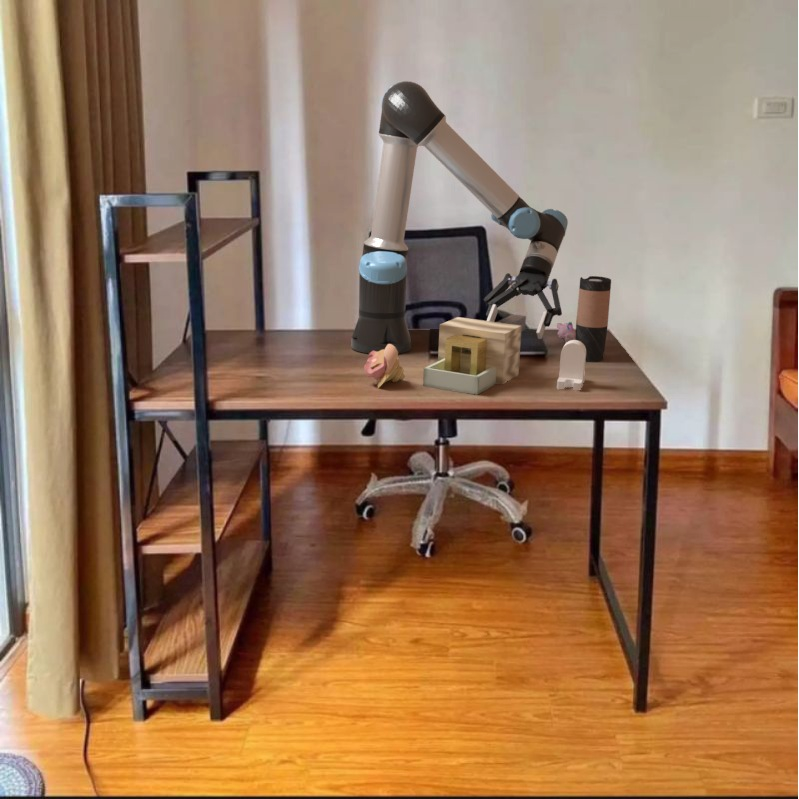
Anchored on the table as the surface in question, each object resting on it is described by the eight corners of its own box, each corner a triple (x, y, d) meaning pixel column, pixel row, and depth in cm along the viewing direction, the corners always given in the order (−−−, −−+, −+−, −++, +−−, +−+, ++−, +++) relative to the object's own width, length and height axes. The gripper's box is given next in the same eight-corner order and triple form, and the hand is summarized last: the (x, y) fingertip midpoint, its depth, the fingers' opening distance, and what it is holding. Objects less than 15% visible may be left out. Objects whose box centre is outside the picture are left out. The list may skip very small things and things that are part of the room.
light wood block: (455, 365, 243) (457, 317, 240) (518, 375, 236) (521, 325, 233) (437, 374, 234) (439, 324, 231) (502, 384, 227) (505, 333, 224)
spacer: (453, 374, 232) (455, 334, 230) (484, 379, 229) (486, 338, 226) (444, 379, 228) (445, 338, 225) (475, 384, 225) (477, 343, 222)
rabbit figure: (584, 352, 266) (572, 330, 279) (587, 330, 263) (574, 309, 276) (561, 351, 265) (549, 329, 279) (563, 330, 263) (552, 309, 276)
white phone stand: (584, 380, 233) (588, 338, 230) (580, 391, 224) (584, 347, 221) (561, 378, 235) (565, 336, 232) (556, 389, 225) (559, 345, 223)
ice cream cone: (396, 378, 233) (419, 355, 226) (387, 408, 226) (410, 386, 219) (363, 357, 230) (385, 333, 224) (352, 387, 223) (375, 364, 217)
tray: (423, 385, 225) (423, 368, 224) (443, 375, 234) (444, 358, 233) (477, 394, 219) (478, 377, 218) (495, 383, 228) (496, 366, 227)
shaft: (511, 328, 255) (512, 314, 254) (525, 329, 253) (525, 316, 252) (466, 350, 231) (466, 335, 230) (480, 352, 230) (481, 337, 229)
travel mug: (604, 363, 249) (611, 282, 243) (572, 360, 250) (579, 280, 245) (604, 355, 256) (611, 277, 250) (573, 353, 258) (580, 275, 252)
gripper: (489, 249, 262) (462, 317, 253) (582, 259, 251) (558, 330, 242) (496, 267, 268) (470, 334, 259) (587, 277, 257) (563, 347, 249)
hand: (512, 332), depth 251 cm, fingers open, 13 cm apart
